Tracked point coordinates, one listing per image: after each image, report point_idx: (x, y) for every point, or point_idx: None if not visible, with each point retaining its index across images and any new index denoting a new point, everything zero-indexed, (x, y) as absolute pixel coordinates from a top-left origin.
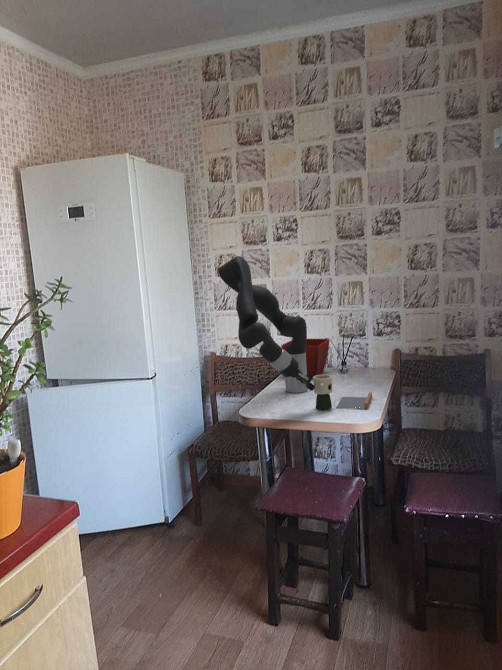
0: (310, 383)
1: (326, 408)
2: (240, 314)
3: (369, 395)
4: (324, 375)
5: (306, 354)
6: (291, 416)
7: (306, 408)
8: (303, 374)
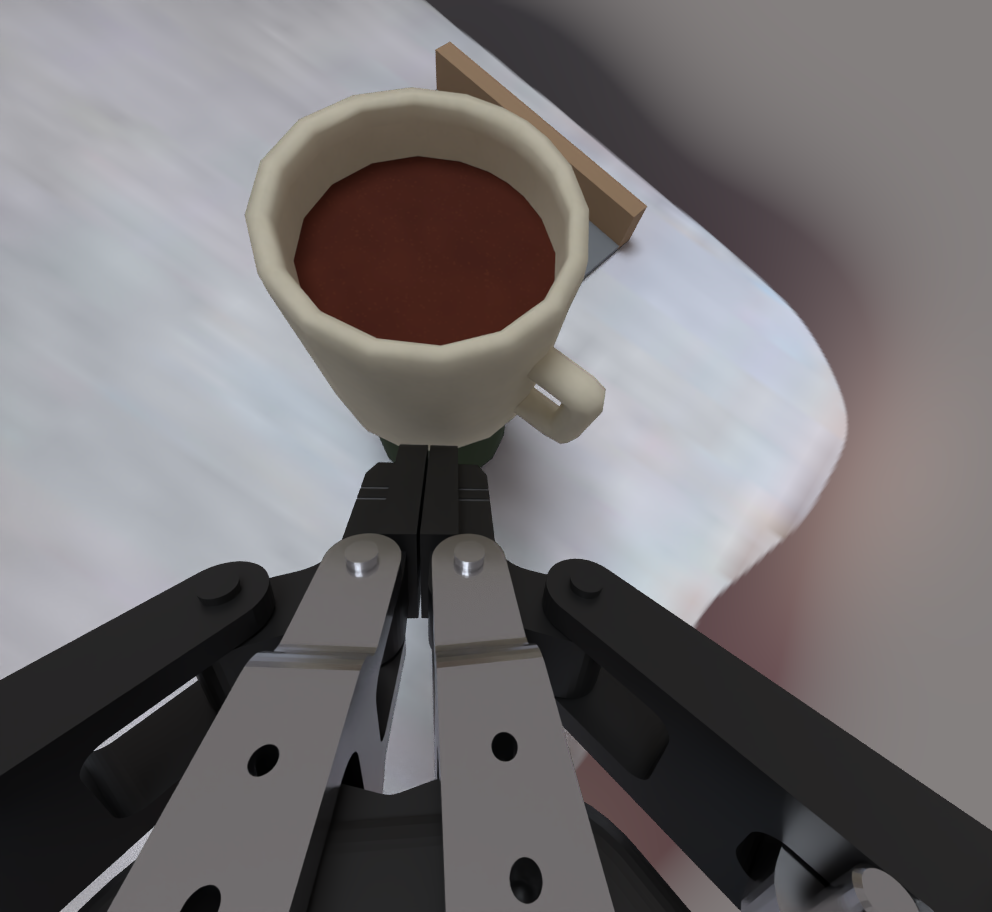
0: (492, 534)
1: (502, 434)
2: None
3: (501, 92)
4: (346, 129)
5: None
6: (428, 757)
7: (326, 515)
8: (587, 878)
